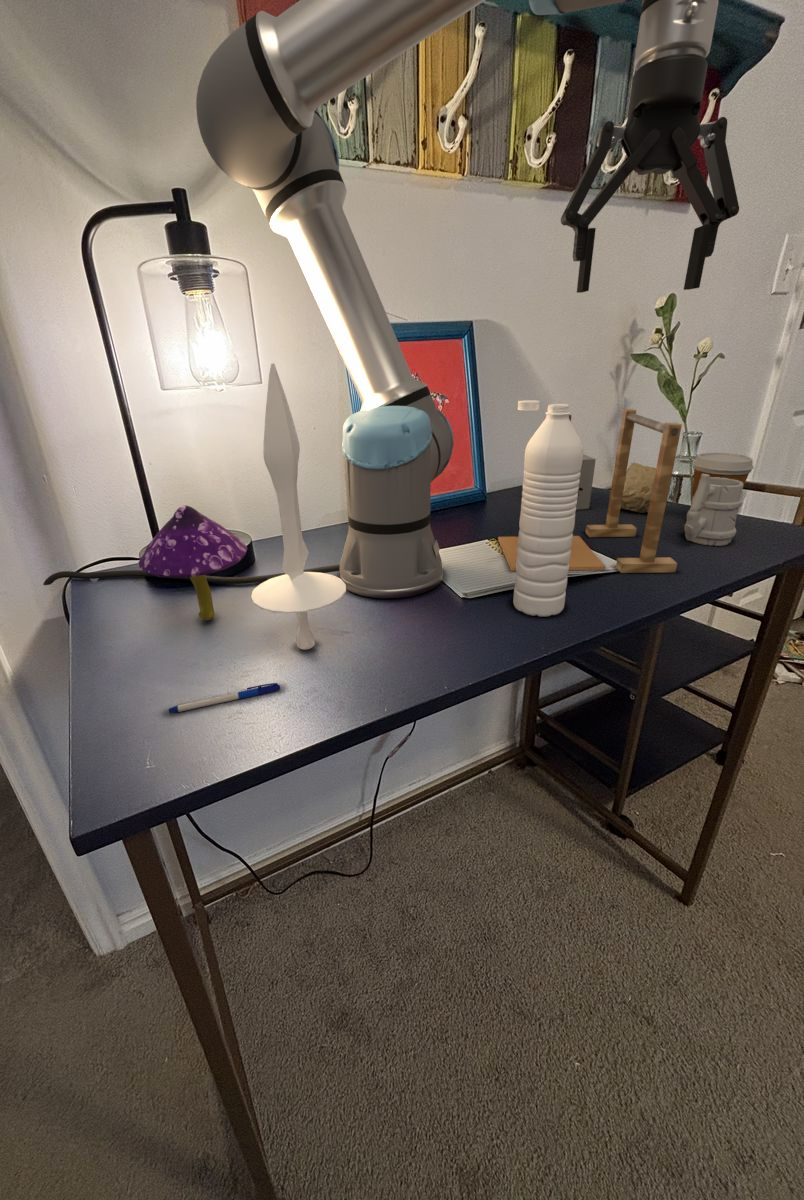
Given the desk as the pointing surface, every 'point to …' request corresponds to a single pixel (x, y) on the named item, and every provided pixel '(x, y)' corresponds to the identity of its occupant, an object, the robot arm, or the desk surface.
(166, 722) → the desk surface
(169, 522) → the decorative mushroom
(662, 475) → the rail stand
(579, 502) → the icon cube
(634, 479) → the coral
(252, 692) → the ballpoint pen
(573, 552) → the cork mat
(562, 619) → the desk surface
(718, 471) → the disposable coffee cup
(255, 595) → the sculpture
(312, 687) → the desk surface
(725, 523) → the mug
